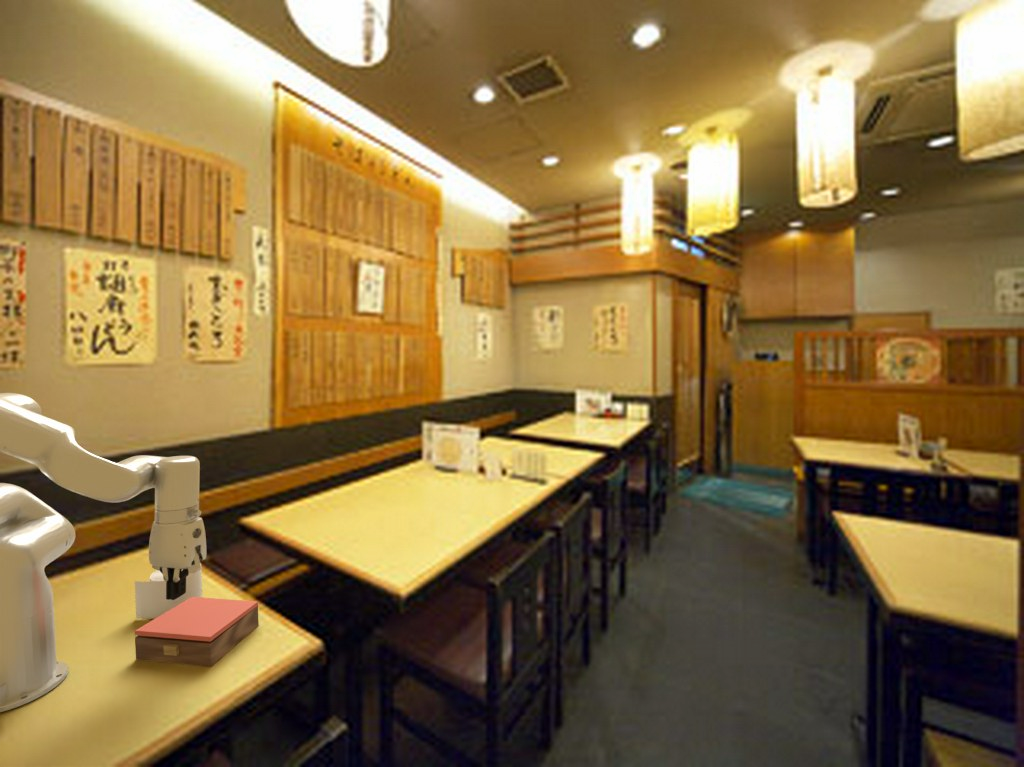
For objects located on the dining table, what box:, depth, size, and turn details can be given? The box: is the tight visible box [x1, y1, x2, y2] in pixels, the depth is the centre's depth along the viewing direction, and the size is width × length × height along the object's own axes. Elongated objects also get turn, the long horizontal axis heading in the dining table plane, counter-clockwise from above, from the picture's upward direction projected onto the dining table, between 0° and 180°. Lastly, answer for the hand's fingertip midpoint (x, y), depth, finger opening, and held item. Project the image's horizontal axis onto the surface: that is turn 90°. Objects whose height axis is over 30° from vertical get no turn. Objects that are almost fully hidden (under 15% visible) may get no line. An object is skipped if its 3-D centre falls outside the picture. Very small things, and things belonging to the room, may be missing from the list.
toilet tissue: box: [134, 562, 203, 620], centre depth 109 cm, size 11×12×10 cm
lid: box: [134, 596, 259, 642], centre depth 96 cm, size 14×18×1 cm
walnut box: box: [134, 605, 260, 668], centre depth 96 cm, size 15×18×5 cm
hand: (176, 596), depth 91 cm, fingers closed
